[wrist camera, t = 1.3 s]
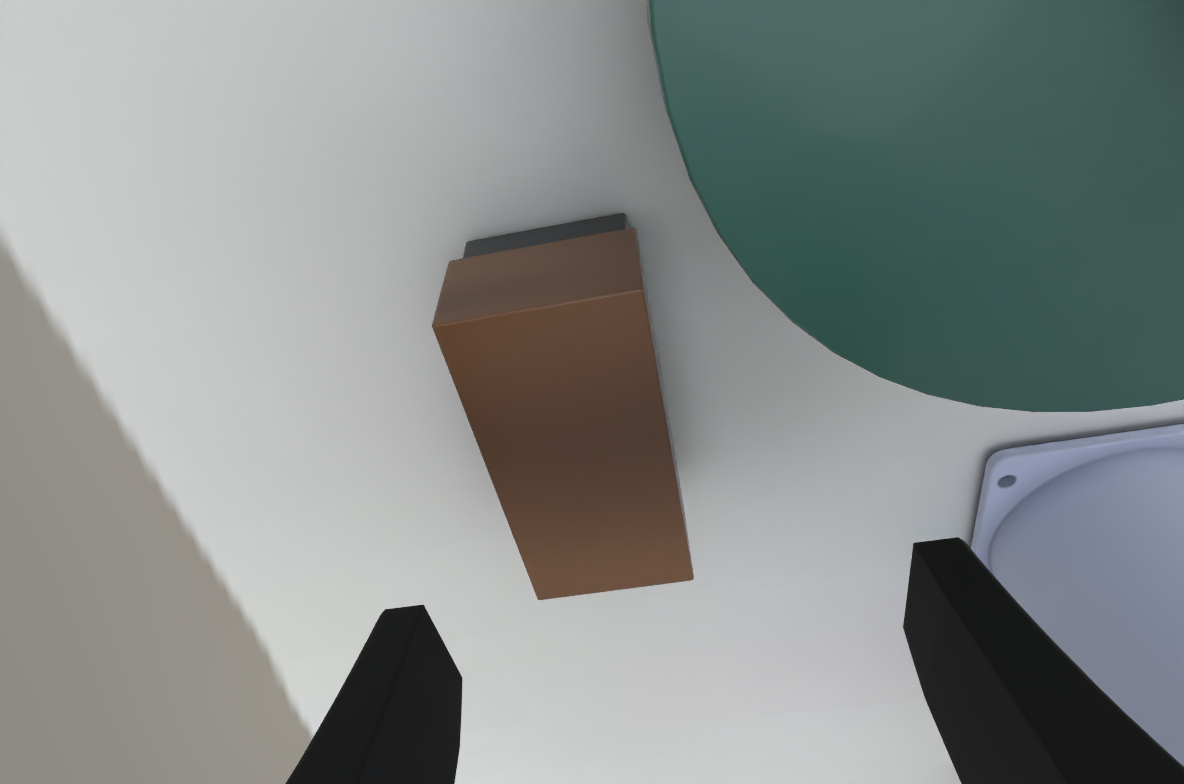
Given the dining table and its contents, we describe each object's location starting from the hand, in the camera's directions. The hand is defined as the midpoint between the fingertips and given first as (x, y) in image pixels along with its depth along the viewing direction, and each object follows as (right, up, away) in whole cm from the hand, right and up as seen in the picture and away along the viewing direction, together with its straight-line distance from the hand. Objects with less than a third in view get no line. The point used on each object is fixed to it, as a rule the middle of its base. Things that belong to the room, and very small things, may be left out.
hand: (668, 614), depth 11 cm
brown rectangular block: (-1, +4, +9) cm, 10 cm away
